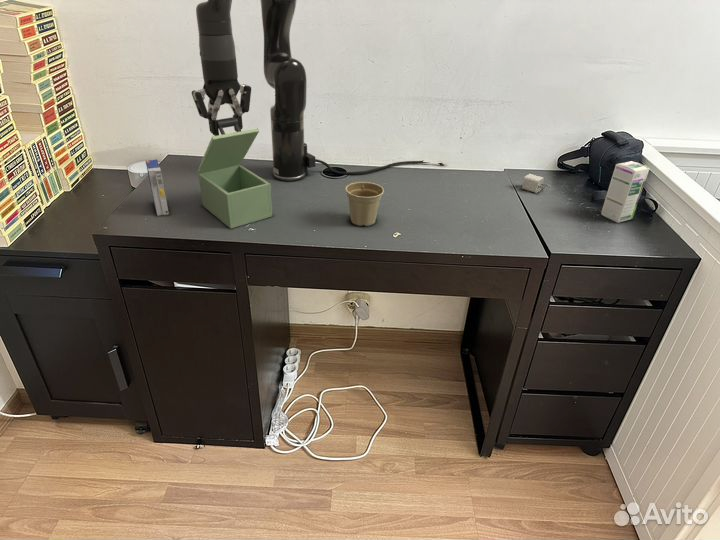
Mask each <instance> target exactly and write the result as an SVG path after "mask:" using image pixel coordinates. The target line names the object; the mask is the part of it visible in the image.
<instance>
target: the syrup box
mask: <svg viewBox="0 0 720 540" xmlns="http://www.w3.org/2000/svg"><path fill="white" fill-rule="evenodd" d="M650 169H651V168H650V167H649V166H647V165H644V164H642V163H639V162H636V161H632V160H630V161H626V162H620V163H616V164H615V167H614V169H613V173H612V176H611V180H610V183H609V186H608V189H607V192H606V195H605V198H604V202H603V206H602V208H601V212H600V215H601V216H603V217H604V218H606V219H608V220H611V221H613V222H614V223H617V224H620V223H622V222H626V221H630V220H631V221H632V220H633V218H634V216H635V213H636V210H637V206H638V204H639V201H640V197H641V195H642V192H643V189H644V186H645V183H646V180H647V177H648V175H649V172H650Z"/></svg>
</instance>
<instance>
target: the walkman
mask: <svg viewBox="0 0 720 540" xmlns="http://www.w3.org/2000/svg"><path fill="white" fill-rule="evenodd" d="M145 166H146V171H147V175H148V181H149V186H150V190H151V197H152V201H153V205H154V208H155V209H154V210H155V212H156V215H157V216H168V215H170V212H169V208H168V207H169V206H168V201H167V197H166V192H165V186H164V180H163V175H162V170H161V166H160V165H159V160H158V159H149V160H147V159H146V160H145Z"/></svg>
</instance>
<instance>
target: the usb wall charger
mask: <svg viewBox="0 0 720 540" xmlns="http://www.w3.org/2000/svg"><path fill="white" fill-rule="evenodd" d="M544 181H545V178H544V177H543V176H539V175H535V174H532V173H528V174H527V175H525V176H524V178H523V182H522V185H521V186H522V187H521V190H525V191H528V192H531V193H534V194H538V193H539V192H540V191H541V190H545V191H547V190H548V189H550V188H551V185H549V184H545V183H544Z"/></svg>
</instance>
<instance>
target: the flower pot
mask: <svg viewBox="0 0 720 540" xmlns="http://www.w3.org/2000/svg"><path fill="white" fill-rule="evenodd" d="M344 191H345V192H346V195H347V198H348V206H349V216H350V222H351V223H352V224H353V225H355V226H359V227H361V226H365V227H369V226H371V225H374V224H375V223H376V221H377V220H376V219H377V214H378V210H379V206H380V201H381V199H382V196H383V195H384V193H385V189H384V187H383V186H382V185H380V184H378V183H376V182H375V183H374V182H371V181H355V182H352V183H349V184H347V185H346V186H345V190H344Z"/></svg>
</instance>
